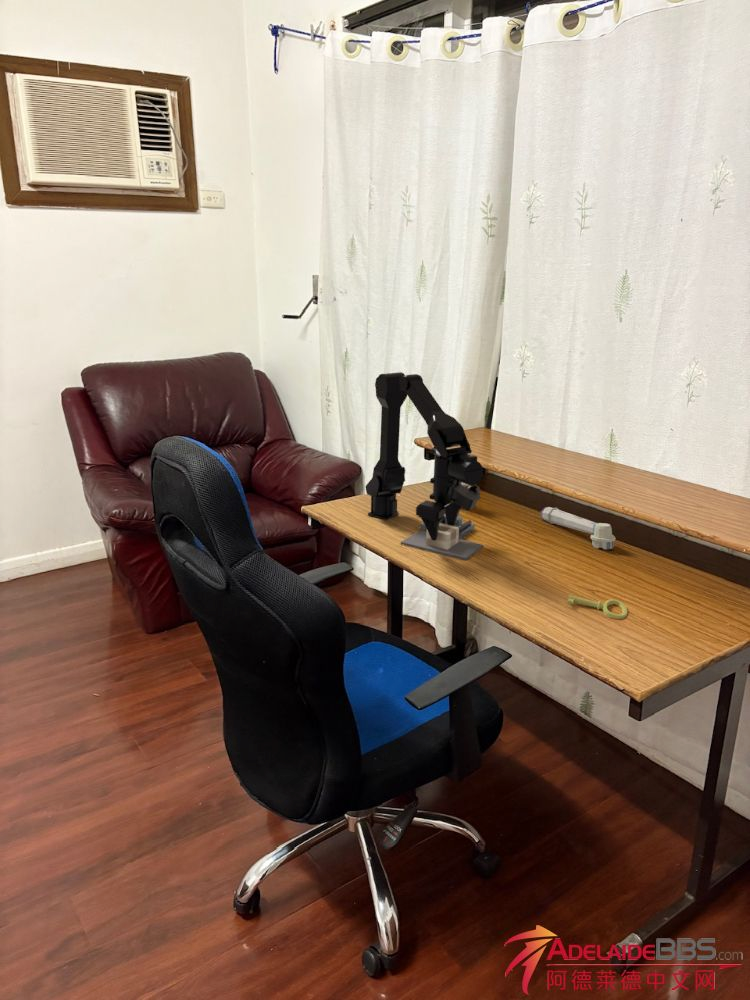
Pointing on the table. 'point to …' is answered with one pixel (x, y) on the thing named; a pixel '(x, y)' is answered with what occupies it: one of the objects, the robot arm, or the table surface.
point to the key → (601, 606)
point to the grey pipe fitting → (581, 526)
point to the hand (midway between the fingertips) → (442, 534)
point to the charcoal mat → (457, 551)
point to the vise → (463, 526)
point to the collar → (444, 537)
